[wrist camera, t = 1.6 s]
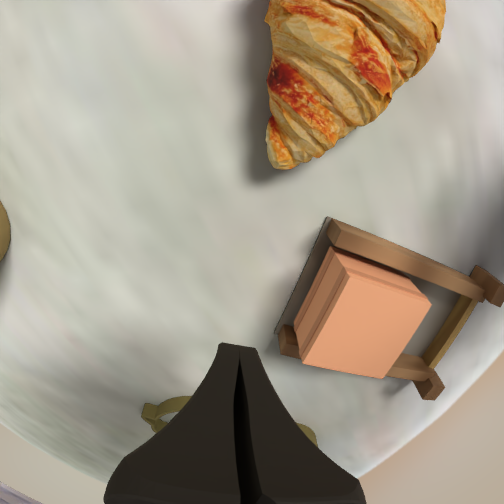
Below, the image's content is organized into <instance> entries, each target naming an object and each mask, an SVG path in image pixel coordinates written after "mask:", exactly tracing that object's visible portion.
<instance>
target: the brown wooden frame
mask: <svg viewBox="0 0 504 504" xmlns="http://www.w3.org/2000/svg"><path fill="white" fill-rule="evenodd" d="M330 246H332V247H335V248H338V249H340V250H343V251H346V252H349V253H351V254H354V255H357V256H360V257H362V258H365V259H368V260H370V261H373V262H376V263H378V264H381V265H384V266H386V267H389V268H392V269H394V270H397V271H400V272H402V273H404V274H405V275H406V276H408V277H409V278H410V279H411V282H412V283H413V284H414V285H415V286H416V287H417V288H418V290H419V291H420V292H421V293H422V294H424V295H425V296H426V297H427V298H428V301H429V302H430V303H431V304H432V305H431V307H430V309H429V310H428V312H427V314H426V315H425V317H424V318H423V320H422V322H421V323H420V325H419V326H418V328H417V330H416V331H415V333H414V334H413V336H412V337H411V339H410V340H409V342H408V343H407V345H406V346H405V348H404V349H403V351H402V352H401V354H400V355H399V357H398V358H397V360H396V361H395V362H394V364H393V365H392V367H391V368H390V369H389V371H388V372H387V373H386V375H385V376H389V377H396V378H402V379H409V380H412V381H413V382H414V384H415V386H416V388H417V390H418V392H419V394H420V396H421V397H422V399H423V400H435V399H436V398H437V397H438V396H439V395H440V393H441V392H442V391H443V390H444V388H445V386H444V384H443V383H442V381H441V380H440V378H439V376H438V375H437V373H436V372H435V370H434V368H435V366H436V365H437V364H438V362H439V361H440V360H441V358H442V357H443V355H444V354H445V353H446V351H447V350H448V348H449V347H450V345H451V344H452V342H453V341H454V339H455V338H456V336H457V335H458V333H459V332H460V330H461V329H462V327H463V326H464V324H465V322H466V321H467V319H468V317H469V316H470V314H471V313H472V311H473V309H474V308H475V306H476V304H477V302H478V301H479V302H482V303H483V302H484V300H485V299H486V300H487V301H488V302H490V303H491V304H494V305H496V306H498V307H501V305H502V304H503V302H504V284H503V283H502V282H500V281H499V280H498V279H497V278H495V277H494V276H493V275H491V274H490V273H489V272H488V271H486V270H484V269H482V268H481V267H479V266H477V265H476V266H475V268H474V270H473V272H472V273H471V275H470V277H469V276H467V275H465V274H463V273H461V272H458V271H456V270H454V269H452V268H450V267H447V266H445V265H443V264H441V263H439V262H436V261H434V260H432V259H430V258H427V257H425V256H423V255H420V254H418V253H416V252H414V251H411V250H409V249H407V248H404V247H402V246H400V245H397V244H395V243H392V242H390V241H388V240H385V239H383V238H380V237H378V236H375V235H373V234H371V233H368V232H366V231H363V230H361V229H358V228H356V227H353V226H351V225H348V224H346V223H343V222H340V221H338V220H335V219H333V218H330V217H327V218H326V220H325V223H324V225H323V227H322V229H321V232H320V234H319V236H318V239H317V241H316V243H315V245H314V248H313V250H312V252H311V254H310V257H309V259H308V261H307V263H306V266H305V268H304V270H303V272H302V274H301V276H300V279H299V281H298V283H297V285H296V287H295V289H294V292H293V294H292V296H291V298H290V300H289V302H288V304H287V306H286V309H285V311H284V313H283V315H282V317H281V319H280V321H279V323H278V325H277V327H276V329H275V331H274V334H277V335H278V338H279V346H280V353H281V355H285V356H290V357H294V358H298V359H301V357H300V355H299V350H300V349H299V345H298V340H297V335H296V333H295V331H294V320H295V318H296V316H297V314H298V312H299V310H300V308H301V306H302V304H303V302H304V300H305V298H306V296H307V294H308V292H309V290H310V288H311V286H312V284H313V282H314V279H315V277H316V275H317V273H318V271H319V269H320V267H321V265H322V262H323V260H324V258H325V256H326V254H327V252H328V249H329V247H330Z"/></svg>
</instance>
